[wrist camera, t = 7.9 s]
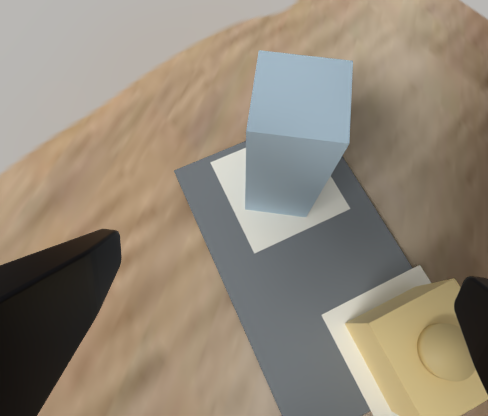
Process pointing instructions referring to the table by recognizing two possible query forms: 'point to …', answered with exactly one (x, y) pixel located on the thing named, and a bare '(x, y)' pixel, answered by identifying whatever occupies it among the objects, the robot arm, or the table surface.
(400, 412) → the ochre cube
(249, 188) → the pillar
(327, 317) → the mat
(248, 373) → the table surface
